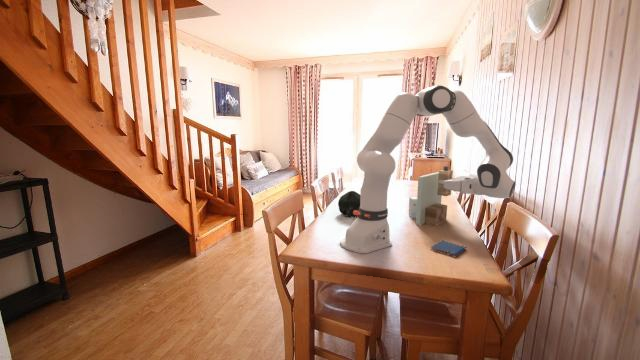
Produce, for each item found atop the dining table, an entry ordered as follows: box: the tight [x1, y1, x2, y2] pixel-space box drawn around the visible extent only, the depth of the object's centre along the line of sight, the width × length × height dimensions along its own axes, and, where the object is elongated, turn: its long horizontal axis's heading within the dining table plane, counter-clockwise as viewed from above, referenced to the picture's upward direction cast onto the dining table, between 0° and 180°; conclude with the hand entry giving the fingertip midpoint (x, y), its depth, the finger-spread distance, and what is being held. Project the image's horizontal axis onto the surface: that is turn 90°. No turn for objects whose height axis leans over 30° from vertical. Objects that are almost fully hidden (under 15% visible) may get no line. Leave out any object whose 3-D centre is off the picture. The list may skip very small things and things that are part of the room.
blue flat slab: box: [430, 240, 468, 258], centre depth 115 cm, size 10×11×2 cm
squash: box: [337, 190, 360, 218], centre depth 159 cm, size 14×15×15 cm
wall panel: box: [415, 171, 443, 226], centre depth 149 cm, size 22×2×24 cm, turn 133°
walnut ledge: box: [424, 203, 448, 227], centre depth 148 cm, size 12×6×8 cm, turn 133°
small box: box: [408, 196, 417, 219], centre depth 156 cm, size 8×6×10 cm
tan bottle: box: [437, 165, 454, 197], centre depth 142 cm, size 6×4×14 cm
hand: (442, 180), depth 143 cm, fingers closed on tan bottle, 6 cm apart
